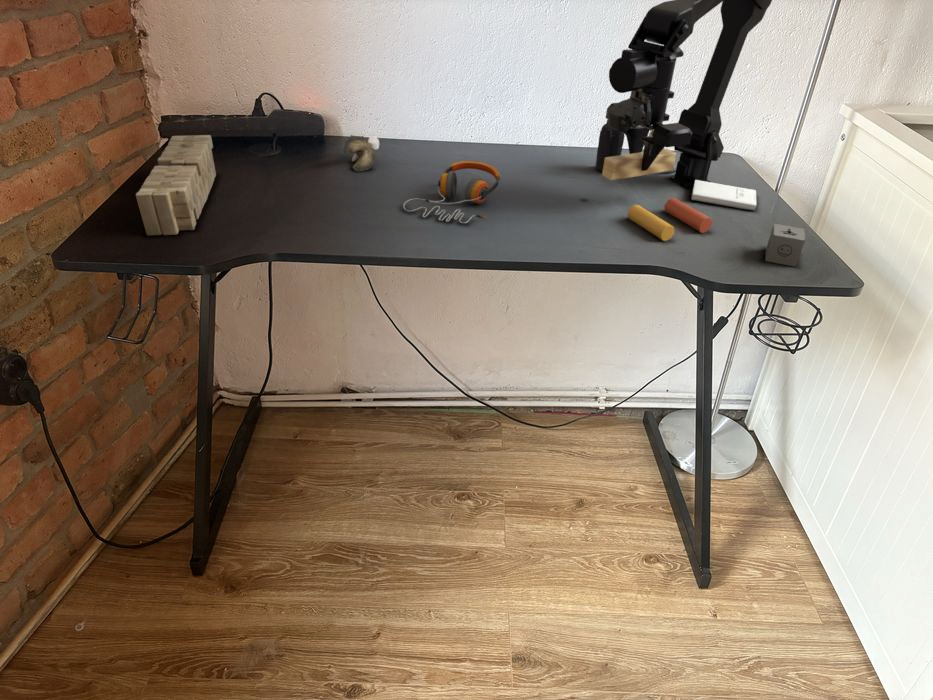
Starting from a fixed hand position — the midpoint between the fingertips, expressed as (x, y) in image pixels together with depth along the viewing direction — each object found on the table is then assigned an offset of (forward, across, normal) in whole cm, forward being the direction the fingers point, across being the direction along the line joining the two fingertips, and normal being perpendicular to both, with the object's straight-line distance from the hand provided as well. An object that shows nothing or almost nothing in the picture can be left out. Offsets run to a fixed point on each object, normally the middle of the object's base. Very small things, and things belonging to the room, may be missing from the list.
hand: (638, 167), depth 134 cm
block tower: (+8, -32, -81) cm, 88 cm away
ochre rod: (+8, +11, -4) cm, 14 cm away
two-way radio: (+8, -17, +6) cm, 20 cm away
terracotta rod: (+8, +11, +5) cm, 14 cm away
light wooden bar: (+1, 0, 0) cm, 1 cm away
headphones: (+8, -13, -32) cm, 36 cm away
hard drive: (+8, +5, +20) cm, 22 cm away
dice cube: (+8, +29, +11) cm, 32 cm away
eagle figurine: (+8, -40, -43) cm, 60 cm away
